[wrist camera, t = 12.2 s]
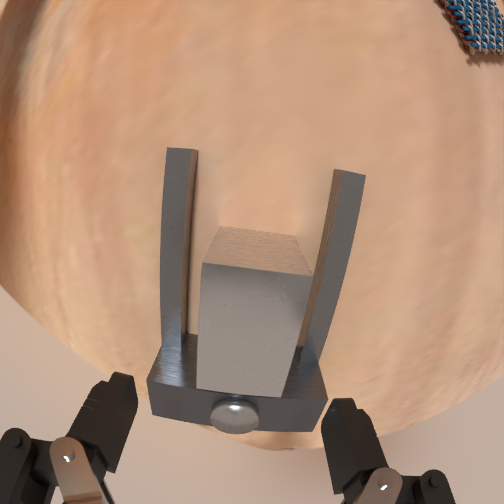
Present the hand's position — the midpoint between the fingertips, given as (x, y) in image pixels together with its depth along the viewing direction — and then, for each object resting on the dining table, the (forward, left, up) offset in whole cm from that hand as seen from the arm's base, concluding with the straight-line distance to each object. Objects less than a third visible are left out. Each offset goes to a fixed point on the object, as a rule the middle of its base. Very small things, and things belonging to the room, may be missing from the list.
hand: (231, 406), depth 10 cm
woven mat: (+18, +30, -12) cm, 37 cm away
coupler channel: (+1, 0, -11) cm, 11 cm away
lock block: (+1, 0, -11) cm, 11 cm away
